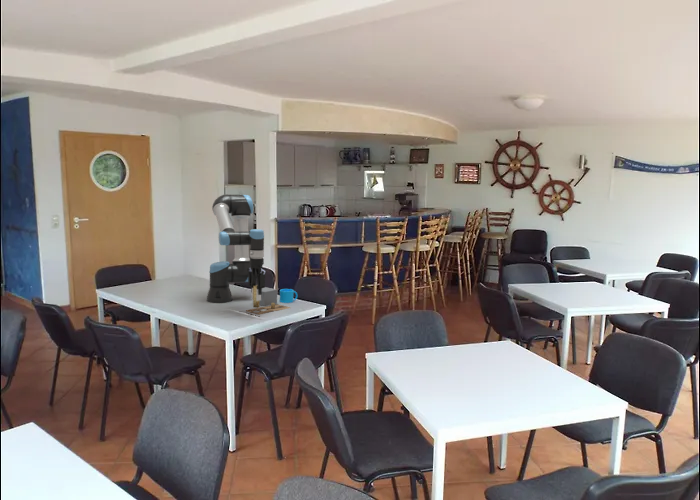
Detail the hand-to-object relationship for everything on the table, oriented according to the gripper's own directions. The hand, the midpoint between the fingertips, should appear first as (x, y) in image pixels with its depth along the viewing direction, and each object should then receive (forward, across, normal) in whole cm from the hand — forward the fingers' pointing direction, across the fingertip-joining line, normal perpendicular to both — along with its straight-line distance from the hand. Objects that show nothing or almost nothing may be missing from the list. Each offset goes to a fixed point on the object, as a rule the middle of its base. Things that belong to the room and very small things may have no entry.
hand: (256, 299), depth 289 cm
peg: (+4, 0, 0) cm, 4 cm away
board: (+8, 0, +15) cm, 17 cm away
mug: (+8, -7, +32) cm, 34 cm away
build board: (+8, 0, +3) cm, 9 cm away
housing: (+8, -12, +17) cm, 23 cm away
